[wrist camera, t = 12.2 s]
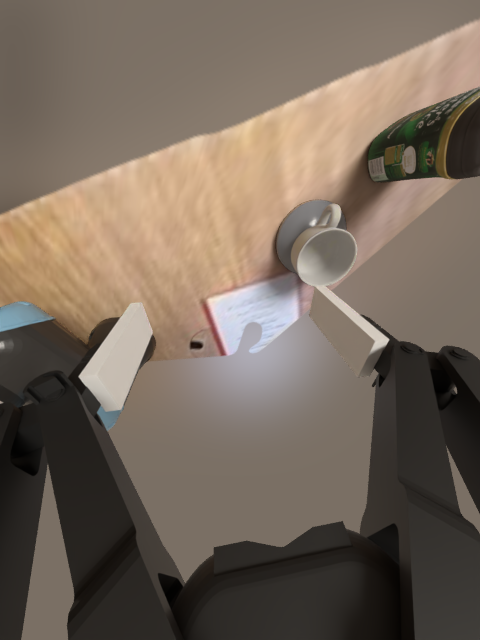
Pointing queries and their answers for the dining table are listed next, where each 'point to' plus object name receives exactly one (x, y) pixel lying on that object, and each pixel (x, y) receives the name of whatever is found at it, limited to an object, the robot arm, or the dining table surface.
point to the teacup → (324, 251)
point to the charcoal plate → (300, 227)
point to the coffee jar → (431, 142)
